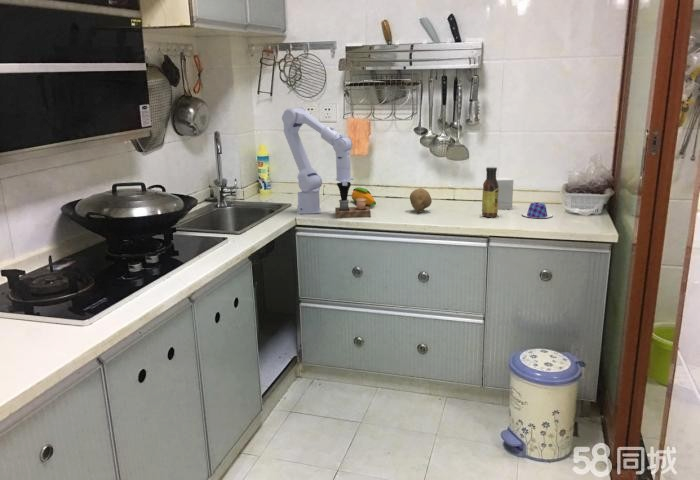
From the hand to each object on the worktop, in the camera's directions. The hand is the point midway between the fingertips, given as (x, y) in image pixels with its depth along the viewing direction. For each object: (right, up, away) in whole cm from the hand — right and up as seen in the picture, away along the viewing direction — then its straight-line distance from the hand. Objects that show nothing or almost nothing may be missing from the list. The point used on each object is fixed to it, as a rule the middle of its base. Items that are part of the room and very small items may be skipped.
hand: (344, 200), depth 243 cm
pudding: (+78, -7, -4) cm, 79 cm away
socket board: (+4, -6, +2) cm, 7 cm away
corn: (+9, -1, +22) cm, 24 cm away
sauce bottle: (+59, -7, -4) cm, 60 cm away
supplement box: (+68, -3, +11) cm, 69 cm away
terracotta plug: (+7, -3, +1) cm, 8 cm away
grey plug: (0, -4, +1) cm, 4 cm away
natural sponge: (+32, -5, +6) cm, 33 cm away
